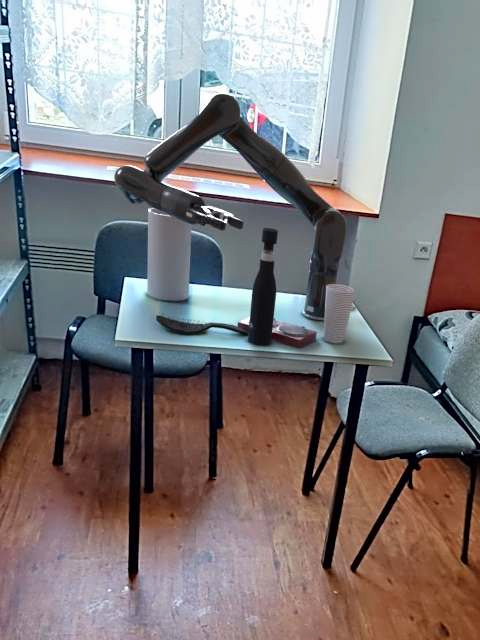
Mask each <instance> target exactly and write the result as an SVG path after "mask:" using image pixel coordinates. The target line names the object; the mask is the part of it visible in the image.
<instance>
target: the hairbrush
mask: <svg viewBox="0 0 480 640" xmlns="http://www.w3.org/2000/svg"><path fill="white" fill-rule="evenodd" d="M175 318H176V317H175V316H173V318H170V316H165V314H164V312H163V314H162V315H161V313H160V311H159V312H158V313H157V314H156V315H155V321H156V322H157V323H158V324H160V325H161V327H164V328H166V329H167V330H169V331H171V332H173V333H178V334H182V335H198V334H201V333H203V332H206V331H207V330H210V329H212V328H215V329H216V328H217V329H222V330H223V329H224V330H228V331H231V332H235V333H237V334H241V335H245V336H246V335H247V336H248V331H246V330H244V329H242V328H240V327H238V325H234V324H231V323H223V322H205V321H204V320H203V323H200V321H198V320H196V321H195V320H192V319H191V320H190V319H188V320H187V321H186V320H183V319H182V320H181V318H179V317H178V316H177V318H176V319H175ZM192 321H193V322H192ZM194 322H195V323H194ZM197 322H198V323H197Z"/></svg>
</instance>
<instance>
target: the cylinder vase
mask: <svg viewBox="0 0 480 640" xmlns="http://www.w3.org/2000/svg"><path fill="white" fill-rule="evenodd" d="M192 226H193V225H191V224H189V223H186V222H184V221H181V220H179V219H176V218H174V217H172V216H170V215H168V214H166V213H164V212H162V211H160V210H157V209H155V208H153V207H151V208H148V210H147V280H146V281H147V285H146V286H147V288H146V289H147V290H146V291H147V294H148V295H149V296H150V297H151V298H153V299H155V300H159V301H165V302H182V301H185V300H187V299H188V298H189V295H190V274H191V273H190V271H191V251H192V249H191V248H192Z"/></svg>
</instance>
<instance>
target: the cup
mask: <svg viewBox="0 0 480 640" xmlns="http://www.w3.org/2000/svg"><path fill="white" fill-rule="evenodd" d="M355 295H356V289H355V288H354V287H351V286H349V285H345V284H339V283H337V284H328V285H326V301H325V318H324V321H323V337H322V338H323V340H324V341H325V342H327V343H330V344H342V343H343V342H344V340H345V336H346V331H347V327H348V323H349V319H350V315H351V311H352V307H353V303H354V299H355Z"/></svg>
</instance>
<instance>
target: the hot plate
mask: <svg viewBox="0 0 480 640" xmlns="http://www.w3.org/2000/svg"><path fill="white" fill-rule="evenodd" d="M249 322H250V316H249V317H247V318H244V319H242V320H238V321H237V327H240V328H242V329H244V330H246V331H248V333H249ZM317 333H318V331H315V330H313V329H308V328H306V327H305V326H299V325H295V324H291V323H289V322H285V321H281V320H277V319H276V318H274V319H273V329H272V338H271V341H274V342H278V343H281V344H285V345H288V346H291V347H294V348H301V347H303V346H305V345H307V344H309V343H312V342H313V341H315V340H316V339H317Z"/></svg>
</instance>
